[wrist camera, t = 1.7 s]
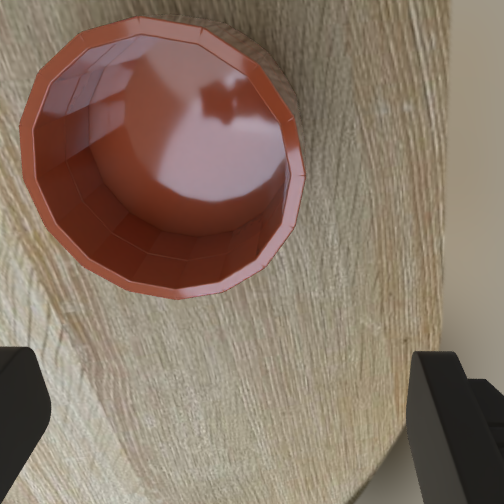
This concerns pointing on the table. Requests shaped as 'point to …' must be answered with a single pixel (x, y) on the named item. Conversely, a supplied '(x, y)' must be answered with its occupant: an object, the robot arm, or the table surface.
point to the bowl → (165, 154)
